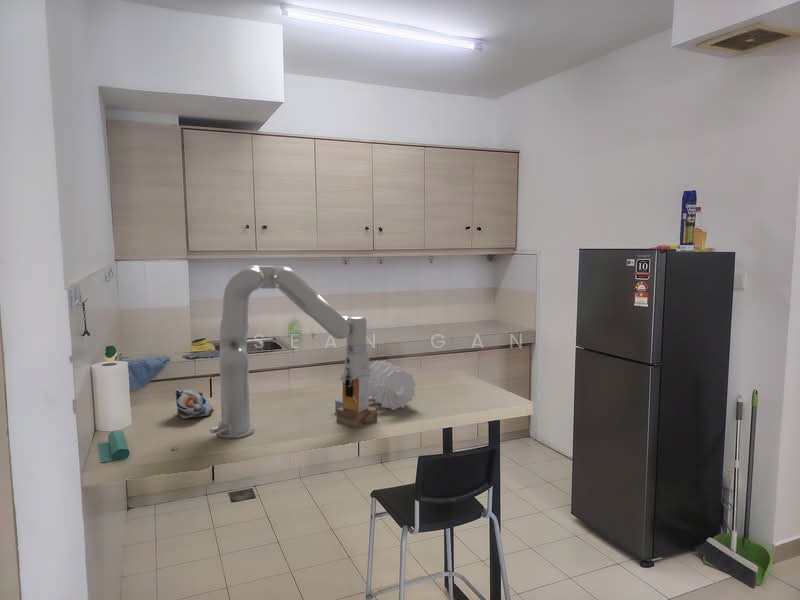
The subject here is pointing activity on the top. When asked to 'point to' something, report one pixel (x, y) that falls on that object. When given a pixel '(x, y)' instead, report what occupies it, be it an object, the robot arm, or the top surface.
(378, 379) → the spiral staircase
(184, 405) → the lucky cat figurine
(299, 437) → the top surface
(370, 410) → the walnut block
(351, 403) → the small box
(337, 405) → the slate-grey cube
